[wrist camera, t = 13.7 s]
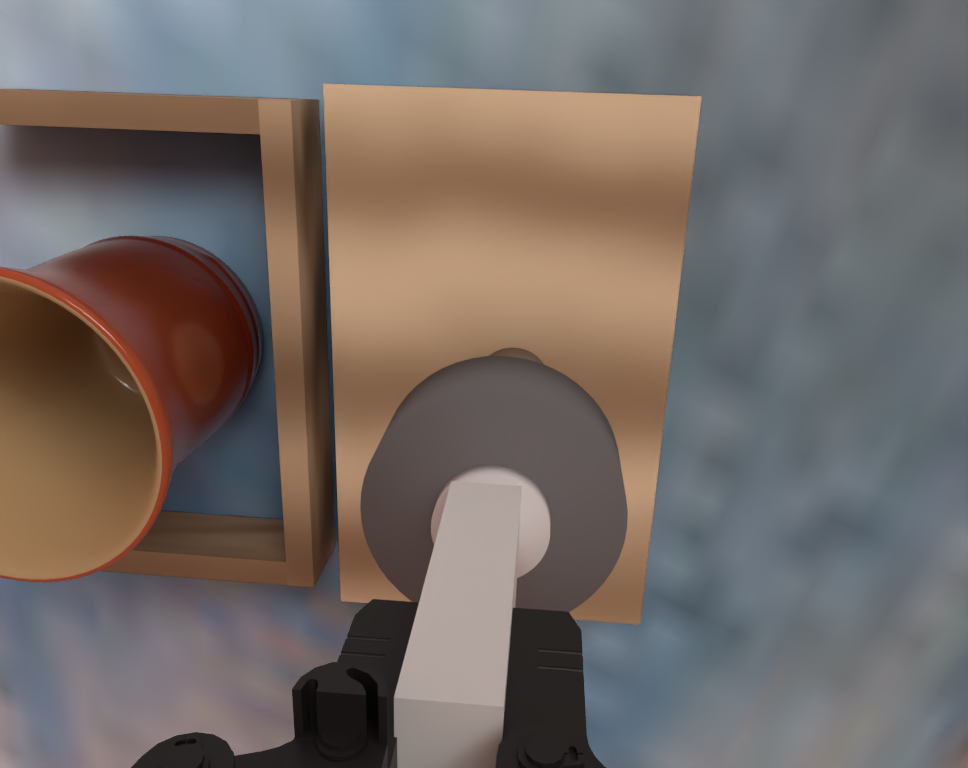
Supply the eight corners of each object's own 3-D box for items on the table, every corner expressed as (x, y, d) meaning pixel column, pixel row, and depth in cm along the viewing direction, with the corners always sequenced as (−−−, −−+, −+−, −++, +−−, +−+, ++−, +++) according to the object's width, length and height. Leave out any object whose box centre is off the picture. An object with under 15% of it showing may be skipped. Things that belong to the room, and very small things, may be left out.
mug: (268, 196, 28) (119, 250, 19) (311, 427, 31) (200, 578, 21) (-48, 225, 30) (-340, 290, 20) (21, 444, 32) (-205, 593, 23)
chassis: (14, 73, 27) (-135, 68, 22) (686, 95, 26) (723, 97, 20) (86, 537, 34) (-14, 631, 28) (632, 577, 32) (649, 687, 26)
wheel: (381, 348, 20) (350, 394, 17) (630, 363, 19) (643, 411, 16) (384, 562, 22) (357, 635, 19) (609, 579, 21) (617, 656, 18)
